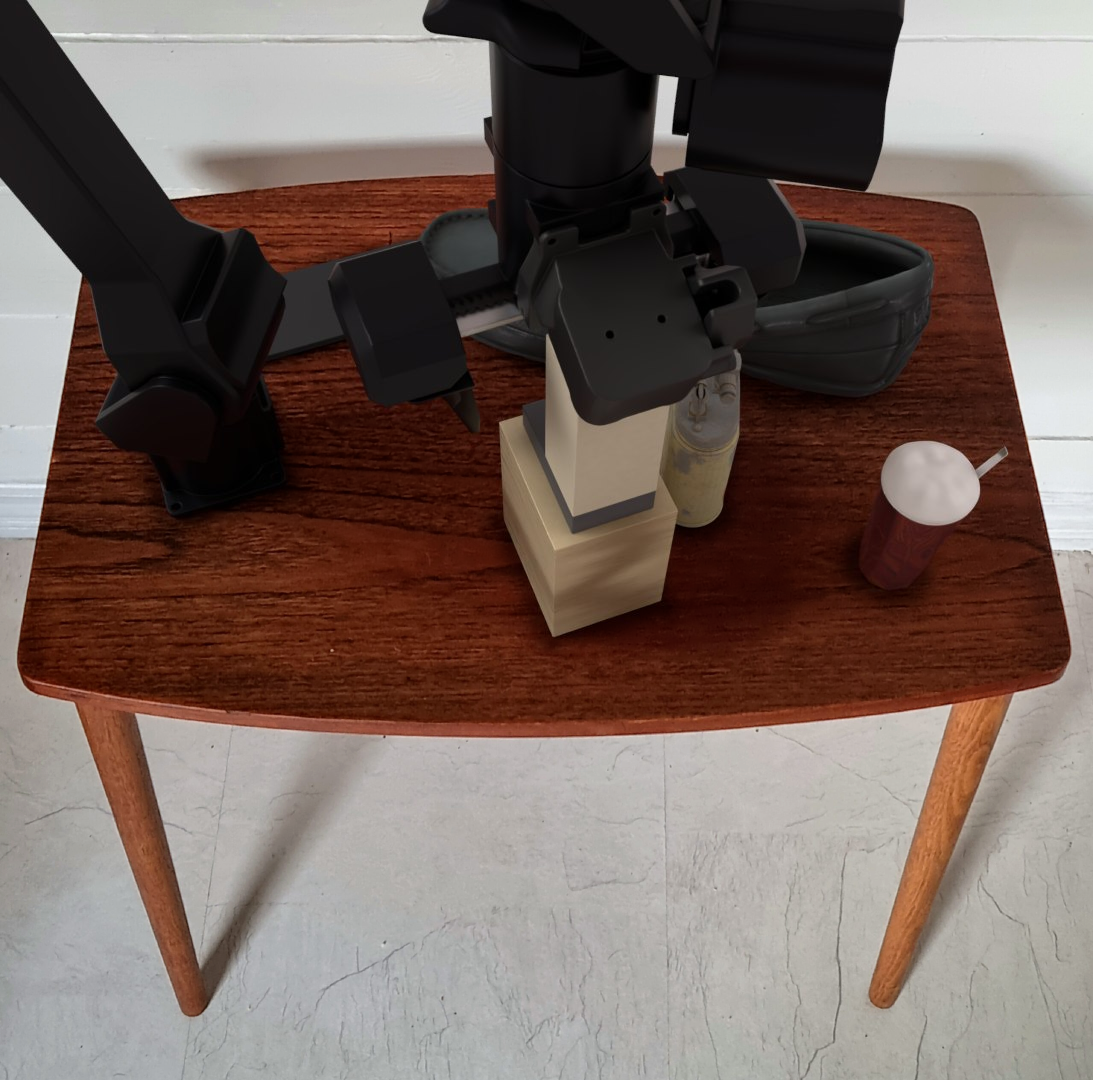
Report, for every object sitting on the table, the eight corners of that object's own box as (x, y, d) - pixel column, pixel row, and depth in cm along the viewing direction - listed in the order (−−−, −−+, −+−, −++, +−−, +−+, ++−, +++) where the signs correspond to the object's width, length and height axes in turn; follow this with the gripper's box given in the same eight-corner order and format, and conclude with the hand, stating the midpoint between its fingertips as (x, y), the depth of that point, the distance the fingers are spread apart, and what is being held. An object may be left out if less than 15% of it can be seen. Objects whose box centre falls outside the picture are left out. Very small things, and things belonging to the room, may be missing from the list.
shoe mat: (246, 367, 71) (245, 362, 70) (224, 295, 73) (222, 289, 73) (444, 312, 73) (443, 306, 72) (414, 244, 75) (414, 238, 75)
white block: (571, 534, 55) (578, 401, 46) (522, 423, 58) (519, 279, 49) (653, 508, 55) (675, 372, 47) (600, 400, 58) (611, 253, 50)
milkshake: (958, 593, 63) (1024, 491, 55) (858, 607, 63) (909, 506, 54) (931, 519, 66) (990, 410, 57) (834, 532, 65) (880, 424, 57)
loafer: (427, 245, 75) (413, 112, 67) (899, 280, 74) (948, 150, 65) (402, 378, 70) (382, 253, 61) (909, 418, 69) (963, 297, 60)
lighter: (722, 531, 65) (750, 422, 57) (651, 526, 65) (668, 417, 57) (722, 423, 69) (749, 304, 60) (655, 418, 69) (672, 300, 60)
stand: (552, 637, 62) (555, 550, 54) (503, 519, 66) (498, 421, 58) (661, 601, 63) (678, 510, 55) (606, 486, 67) (616, 386, 59)
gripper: (388, 376, 38) (429, 605, 51) (919, 218, 41) (825, 472, 55) (294, 139, 43) (353, 404, 56) (771, 17, 46) (719, 294, 60)
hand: (565, 396), depth 57 cm, fingers open, 9 cm apart
